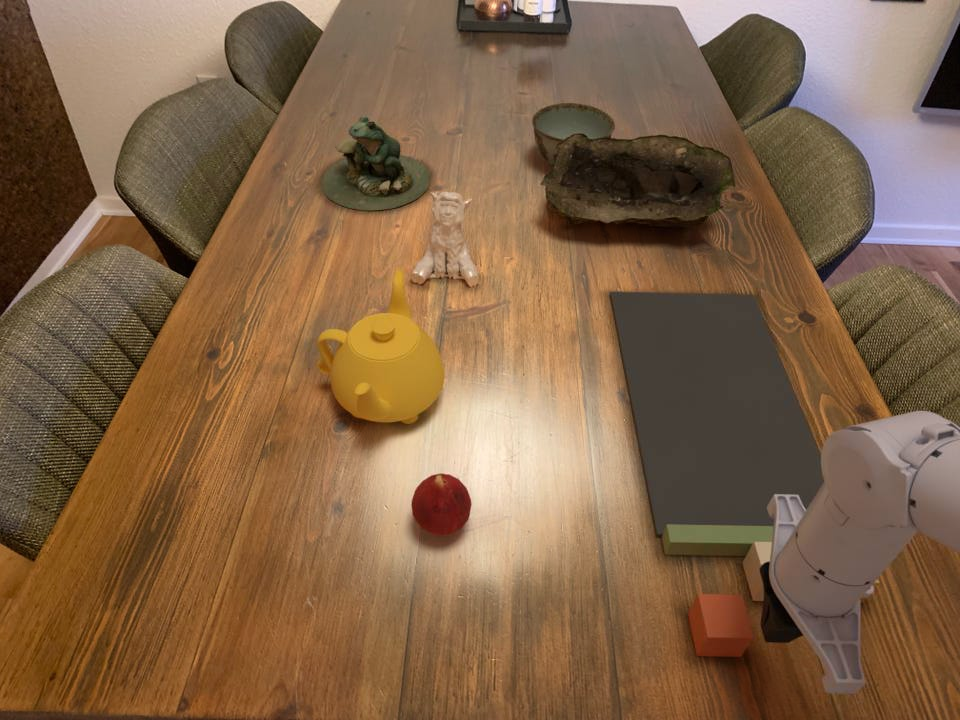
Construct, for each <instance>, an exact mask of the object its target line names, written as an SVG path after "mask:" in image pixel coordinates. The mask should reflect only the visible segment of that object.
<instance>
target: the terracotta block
mask: <svg viewBox="0 0 960 720" xmlns="http://www.w3.org/2000/svg"><path fill="white" fill-rule="evenodd" d="M687 616H688V617H687V618H688V621H689V627H690V631H691V636H692V641H693V645H694V646H693V647H694V650H695V655H696V657H727V658H728V657H729V658H730V657H731V658H732V657H733V658H734V657H735V658H736V657H737V658H741V657H742V656H743V654H744V653H745V652H746V650H747V649H748V647H749V645H750V644H751V642H752V641H753V640H754V637H755V636H754V634H753V631H752V626H751V623H750V618H749V615H748V611H747V608H746V604H745V601H744V597H743V594H738V593H736V594H734V593H732V594H731V593H729V594H728V593H697V595H696V597H695V599H694V601H693V602H692V604H691V607H690V609H689V610H688V612H687Z"/></svg>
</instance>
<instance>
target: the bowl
mask: <svg viewBox="0 0 960 720" xmlns="http://www.w3.org/2000/svg"><path fill="white" fill-rule="evenodd" d="M531 123H532V127H533V134H534V135H533V136H534V140H535V144H536V147H537V150H538V151H539V153H540V155H541V156H542V157H543V158H544V159H545V160H546V162H548V163H550V164H551V167H552V168H553V167H554V163H555V159H556V154H557V153H558V148H556V146H557V144H558V143H560V142H562V141H563V140H564V139H566V138H567V137H570V136H571V135H573V134H578V133H583V134H585V135H586V136H587V137H588V138H589V139H596V138H604V137H607V138H612V135H613V133H614V131H615V130H616V125H615V121H614V119H613V118H612V117H611V116H610V115H609V113H607V112H605V111H603V110H602V109H600V108H597V107H595V106H591V105H589V104H583V103H577V102H575V103H574V102H561V103H555V104H550V105H548V106H545V107H542V108H540V109H539V110H538V111H537V112H536V113H535V114H533V117H532V122H531Z"/></svg>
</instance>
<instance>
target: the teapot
mask: <svg viewBox="0 0 960 720" xmlns="http://www.w3.org/2000/svg"><path fill="white" fill-rule="evenodd" d="M316 341H317V343H316V345H317V349H318V352H319V353H320V356H321V358H319V359H318V361H316V362H317V363H316V368H317V370H318V372H319V373H320V374H322V375H323V376H327V377H329V376H330V386H331V390H332V394H333V396H334V398H335V400H336V401H337V403H339V405H340V406H341V407H342V408H343V409H345V410H346V411H347V412H348V413H350V414H351V415H352V417H354V418H356V419H363V420H366V421H370V422H375V423H395V422H401V423H403V424H405V425H410V424H414V423H416V422H417V421H418V419H419V414H421V413H422V412H424V411H425V410H427V409H428V408H429V407H430V406H432V404H433V403H434V402H435V401H436V400H437V398H438V397H439V396H440V394H441V391H442V389H443V388H444V387H443V386H444V383H445V367H444V363H443V359H442V355H441V353H440V351H439V349H438V346H437V345H436V343H435V342H434V340H433V339H432V337H430V336H429V334H428V333H427V332H426V331H425V329H423V328H422V327H421V326H420V325H419V324H417V323H416V322H415V321H414V320H413V315H412V311H411V309H410V305H409V302H408V299H407V296H406V290H405V273H404V271H403V269H401V268H398V269H397V270H396V271H395V272H394V274H393V278H392V287H391V293H390V299H389V303H388V307H387V311H386V312H380V313H374V314H371V315H367V316H364V317H363V318H361V319H360V320H358V321H357V322H356V323H354V325H353V326H352V327H351V328H350V329H349V330H348V332H346V331H345V330H342V329H340V328H339V329H338V328H329V329H326V330H324V331H322V332H321V333H320V334H319V336H318V338H317V340H316ZM327 341H334V342H337V343H339V344H338V347H337V348H336V350H335V353H334V354H333V352H332V351H331V349H330V347H329V345H328V342H327Z"/></svg>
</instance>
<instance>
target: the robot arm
mask: <svg viewBox="0 0 960 720" xmlns="http://www.w3.org/2000/svg"><path fill="white" fill-rule="evenodd" d="M820 452H821V453H820V456H821V469H822V474H823V478H824V483H823V484H822V486H821V488H820V489H819V491H818V492H817V494H816V496H815V497H814V499H813V500H812V502H811V504H810V505H809V507H808V508H807V510H806V509H805V508H804V506H803V504H802V502H801V500H800V497H799V495H790V494H774V495H773V497H772V499H771V501H770V502H769V504H768V506H767V510H768V513H769V516H770V517H771V518H773V519H774V525H773V535H772V545H771V555H770V562H765V563H764V564H762V566H761V567H760V569H759V571H760V575H761V578H762V582H763V589H764V601H762V611H761V617H760V629H761V633H762V636H763V641H764V642H765V643H769V644H770V643H771V644H772V643H773V644H776V643H777V644H789V643H791V642H793V641H795V640H797V639H799V638H801V637H804V638H805V639H806V641H807V643H808V644H809V646H810V647H811V648H812V650H813V651H814V653H815V654H816V656H817V657H818V659H819V660H820V662H821V664H822V665H823V667H824V669H825V674H824V675H823V676H822V677H821V683H822V686H823V689H824V692H825V693H826V694H837V695H838V694H841V695H843V694H844V695H845V694H846V695H847V694H849V695H851V694H852V695H854V694H857V692H858V691H859V690H861V689H862V687H864V686H865V685H866V684H867V679H866V677H865V673H864V669H863V665H862V655H861V654H862V653H861V651H862V649H861V647H862V646H861V645H862V644H861V640H862V639H861V629H862V628H861V603H860V599H861V598H866V599H868V598H870V597H871V596H872V594H873V593H874V592H875V589H874V587H873V583H874V582H875V581H876V580H877V579H879V578H880V577H881V575H882V574H883V573H884V572H885V570H887V569H888V567H889V566H890V565H891V564H892V563H893V562H894V560H895V559H896V558H897V557H898V555H900V554H901V553H902V551H903V550H904V549H905V547H906V546H907V545H908V544H909V543H910V542H911V540H912V539H913V538H914V537H915V535H916V534H917V533H920V534H922V535H923V536H926V537H927V538H929V539H931V540H933V541H935V542H936V543H938V544H941V545H943V546H944V547H946V548H948V549H950V550H952V551H954V552H956V553H958V554H960V426H959V425H957V423H955V422H953V421H951V420H949V419H947V418H945V417H943V416H941V415H940V414H937V413H935V412H933V411H928V410H913V411H910V412H905V413H900V414H897V415H892V416H887V417H885V418H884V417H883V418H879V419H875V420H870V421H866V422H862V423H857V424H853V425H849V426H846V427H844V428H842V429H838V430H834V431H833V432H831V434H829V435H828V436H827V438H826V439H825V441H824V443H823V445H822V448H821V451H820Z"/></svg>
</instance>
